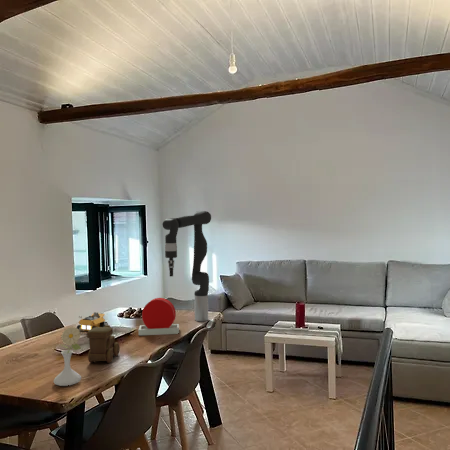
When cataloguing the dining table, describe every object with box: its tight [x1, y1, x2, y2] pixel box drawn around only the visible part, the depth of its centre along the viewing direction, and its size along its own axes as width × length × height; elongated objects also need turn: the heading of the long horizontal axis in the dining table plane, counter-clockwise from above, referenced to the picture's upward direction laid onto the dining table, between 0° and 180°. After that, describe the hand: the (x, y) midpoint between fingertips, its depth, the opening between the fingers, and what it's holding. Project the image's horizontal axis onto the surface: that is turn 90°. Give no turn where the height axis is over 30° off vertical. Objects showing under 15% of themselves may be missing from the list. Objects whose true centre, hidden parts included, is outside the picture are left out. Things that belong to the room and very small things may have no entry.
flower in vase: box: [53, 326, 82, 387], centre depth 191 cm, size 13×11×25 cm
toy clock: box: [141, 297, 176, 329], centre depth 273 cm, size 20×6×20 cm, turn 86°
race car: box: [76, 312, 109, 333], centre depth 282 cm, size 15×15×11 cm
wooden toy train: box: [86, 324, 121, 364], centre depth 223 cm, size 20×11×17 cm, turn 176°
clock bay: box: [138, 323, 180, 336], centre depth 273 cm, size 10×24×4 cm, turn 96°
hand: (171, 275), depth 282 cm, fingers open, 8 cm apart
